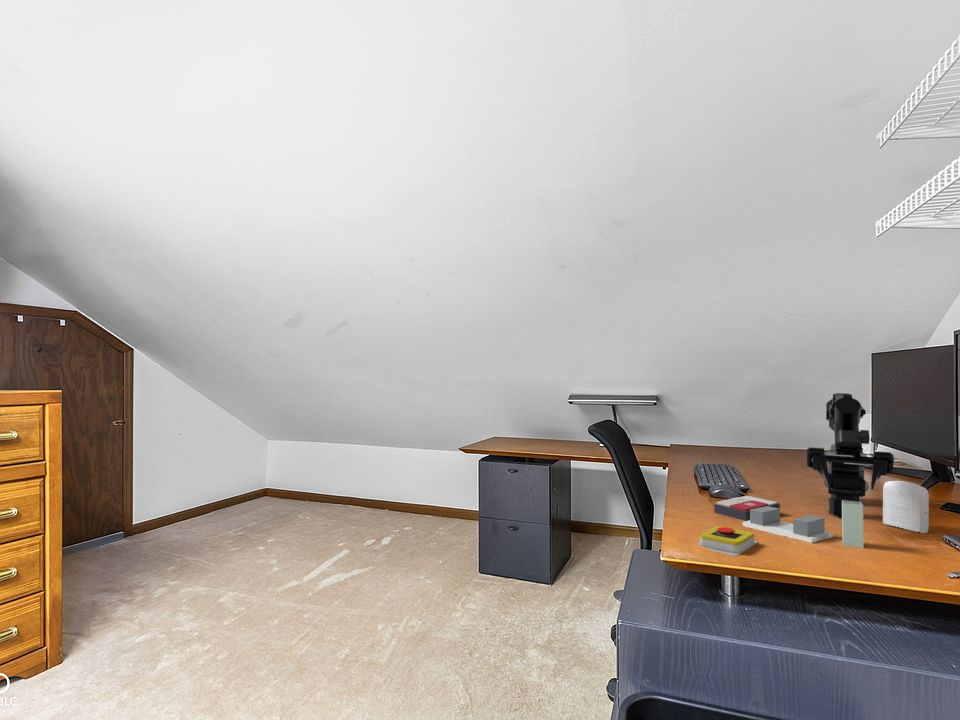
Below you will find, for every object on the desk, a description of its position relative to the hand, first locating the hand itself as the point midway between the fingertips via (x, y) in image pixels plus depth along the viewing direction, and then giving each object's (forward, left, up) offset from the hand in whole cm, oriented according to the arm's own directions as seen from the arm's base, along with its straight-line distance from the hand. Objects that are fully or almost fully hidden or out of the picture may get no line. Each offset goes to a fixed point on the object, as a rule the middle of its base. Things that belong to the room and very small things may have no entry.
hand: (850, 486), depth 142 cm
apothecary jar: (-20, -42, -13) cm, 48 cm away
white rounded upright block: (-19, -11, -13) cm, 26 cm away
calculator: (+17, -22, -13) cm, 31 cm away
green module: (+3, +6, -13) cm, 14 cm away
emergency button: (+33, +10, -13) cm, 37 cm away
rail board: (+14, -4, -13) cm, 19 cm away
